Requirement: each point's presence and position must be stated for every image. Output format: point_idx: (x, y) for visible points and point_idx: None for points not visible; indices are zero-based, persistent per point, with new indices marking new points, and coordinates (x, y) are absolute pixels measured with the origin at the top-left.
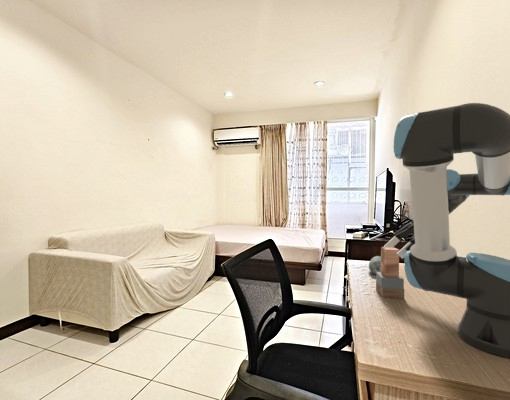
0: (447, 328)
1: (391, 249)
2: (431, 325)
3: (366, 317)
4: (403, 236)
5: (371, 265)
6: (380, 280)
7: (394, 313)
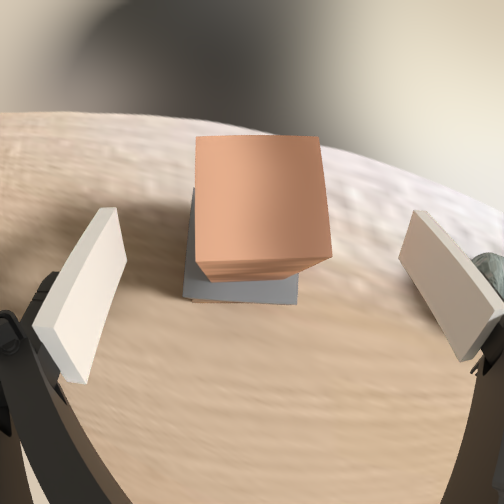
0: None
1: (202, 187)
2: (16, 288)
3: (57, 134)
4: (476, 404)
5: (480, 256)
6: None
7: (71, 214)
